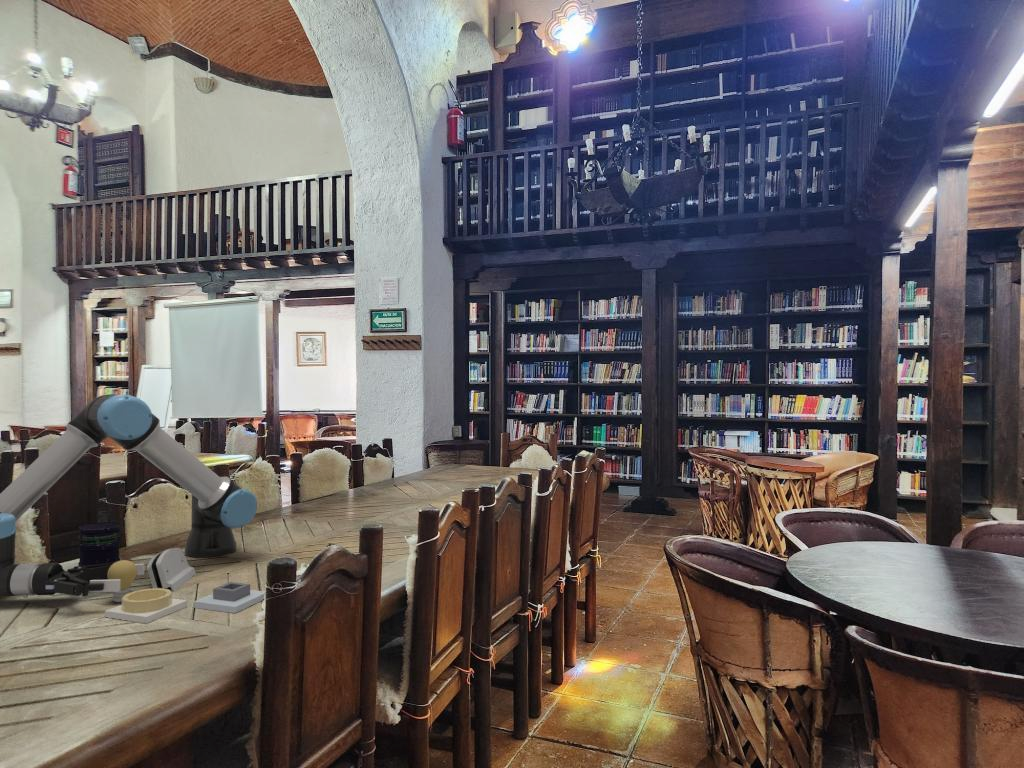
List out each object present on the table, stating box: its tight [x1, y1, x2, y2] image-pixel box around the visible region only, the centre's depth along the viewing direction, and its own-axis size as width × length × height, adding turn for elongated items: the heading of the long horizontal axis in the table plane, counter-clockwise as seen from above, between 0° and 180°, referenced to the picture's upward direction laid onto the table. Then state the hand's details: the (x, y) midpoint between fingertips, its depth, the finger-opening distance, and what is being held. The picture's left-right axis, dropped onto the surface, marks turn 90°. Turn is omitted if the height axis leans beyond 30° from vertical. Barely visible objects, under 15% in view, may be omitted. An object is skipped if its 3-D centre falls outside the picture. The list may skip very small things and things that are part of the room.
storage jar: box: [77, 521, 122, 584], centre depth 177 cm, size 10×10×15 cm
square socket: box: [193, 581, 265, 614], centre depth 161 cm, size 12×12×4 cm
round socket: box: [104, 588, 188, 624], centre depth 153 cm, size 12×12×4 cm
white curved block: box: [146, 547, 197, 592], centre depth 176 cm, size 17×5×10 cm, turn 7°
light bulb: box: [107, 559, 138, 603], centre depth 160 cm, size 6×6×10 cm
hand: (132, 577), depth 161 cm, fingers open, 13 cm apart
